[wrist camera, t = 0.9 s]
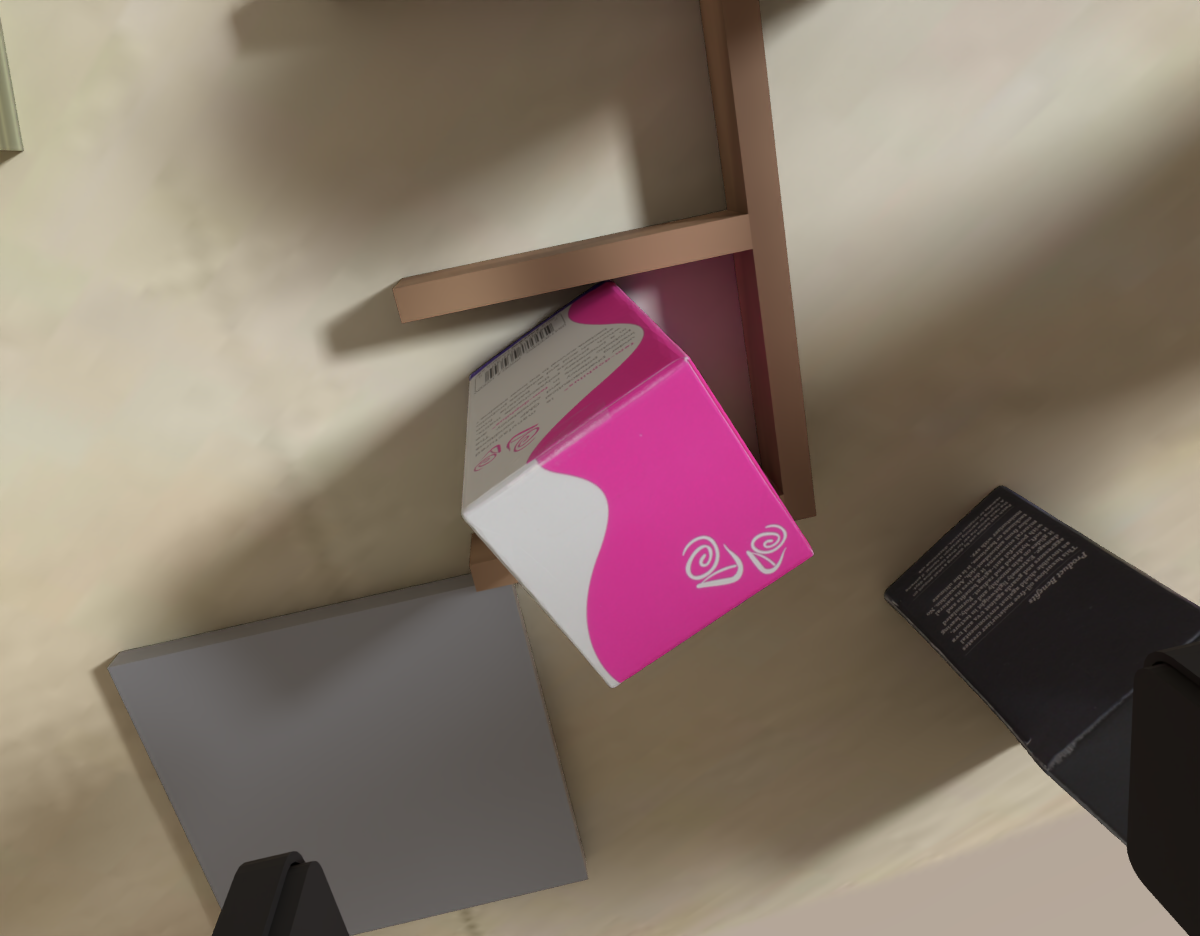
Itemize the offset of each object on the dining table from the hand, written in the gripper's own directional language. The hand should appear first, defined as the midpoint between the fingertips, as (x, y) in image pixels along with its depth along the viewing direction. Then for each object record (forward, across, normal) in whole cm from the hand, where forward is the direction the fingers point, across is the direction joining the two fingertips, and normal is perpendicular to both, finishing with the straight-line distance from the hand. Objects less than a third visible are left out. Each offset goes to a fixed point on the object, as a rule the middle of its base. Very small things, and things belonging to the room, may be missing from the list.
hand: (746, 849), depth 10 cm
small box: (+20, -15, +12) cm, 28 cm away
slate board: (+20, +11, +13) cm, 26 cm away
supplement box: (+20, 0, 0) cm, 20 cm away
